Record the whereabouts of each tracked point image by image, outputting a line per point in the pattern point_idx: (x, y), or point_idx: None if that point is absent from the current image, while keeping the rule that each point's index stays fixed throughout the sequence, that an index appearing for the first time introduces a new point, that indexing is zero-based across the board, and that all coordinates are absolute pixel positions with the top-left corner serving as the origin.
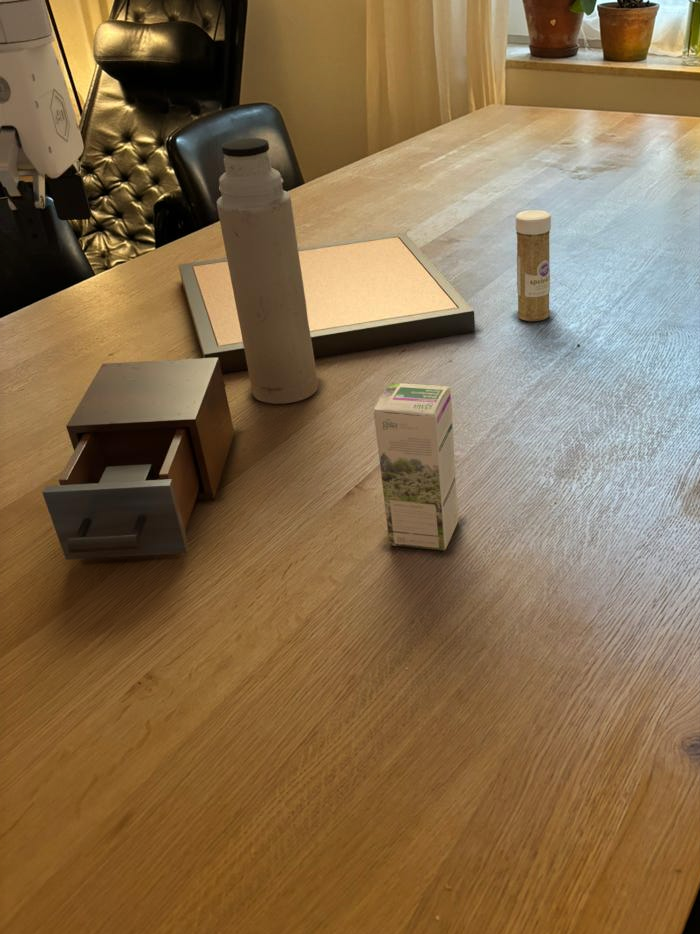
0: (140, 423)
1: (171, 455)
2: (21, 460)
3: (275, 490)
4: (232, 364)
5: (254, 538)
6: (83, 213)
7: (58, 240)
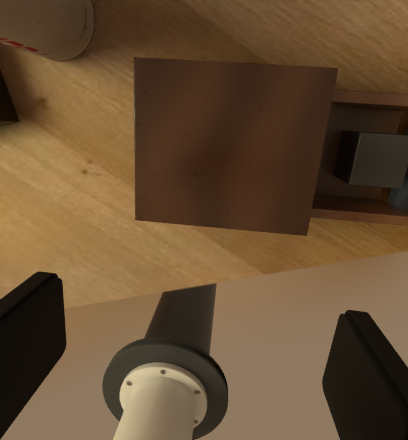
0: (322, 146)
1: (398, 98)
2: (187, 279)
3: (305, 9)
4: (1, 90)
5: (403, 27)
6: (53, 294)
7: (373, 329)
